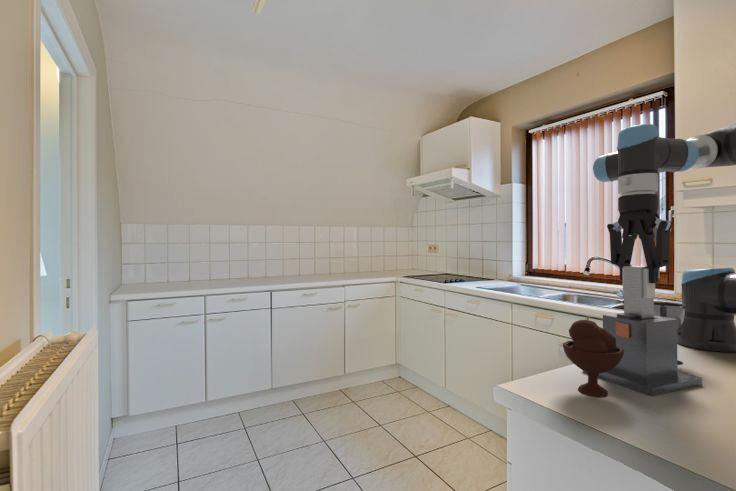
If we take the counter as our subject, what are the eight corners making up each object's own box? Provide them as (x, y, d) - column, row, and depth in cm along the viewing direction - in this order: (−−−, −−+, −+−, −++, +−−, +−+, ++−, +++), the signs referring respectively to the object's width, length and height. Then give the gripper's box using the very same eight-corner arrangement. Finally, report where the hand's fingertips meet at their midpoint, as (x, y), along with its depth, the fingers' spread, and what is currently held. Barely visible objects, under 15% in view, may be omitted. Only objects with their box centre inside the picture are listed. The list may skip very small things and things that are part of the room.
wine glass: (692, 366, 94) (692, 306, 94) (656, 364, 96) (656, 305, 96) (673, 356, 102) (673, 301, 102) (640, 355, 104) (640, 301, 104)
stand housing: (628, 363, 97) (628, 305, 97) (701, 385, 82) (701, 317, 82) (582, 371, 92) (582, 310, 92) (652, 396, 77) (651, 323, 77)
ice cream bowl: (604, 406, 72) (604, 328, 72) (552, 387, 82) (551, 318, 82) (636, 396, 77) (635, 322, 77) (582, 379, 86) (582, 313, 86)
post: (635, 354, 90) (635, 265, 90) (655, 360, 86) (654, 266, 85) (623, 357, 88) (622, 266, 88) (642, 362, 84) (641, 267, 84)
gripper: (592, 198, 93) (592, 292, 93) (667, 188, 77) (668, 302, 77) (613, 199, 96) (614, 291, 96) (690, 190, 80) (691, 300, 80)
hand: (638, 296), depth 87 cm, fingers closed on post, 4 cm apart
